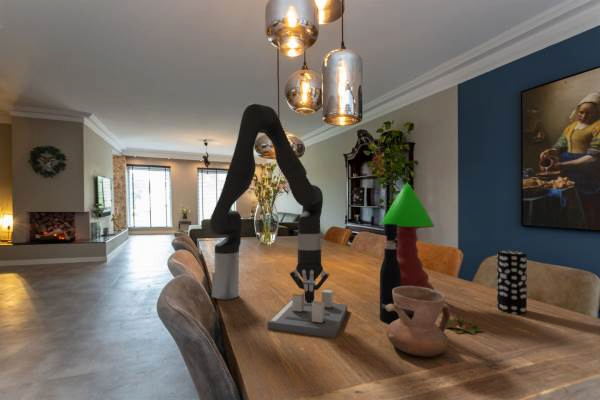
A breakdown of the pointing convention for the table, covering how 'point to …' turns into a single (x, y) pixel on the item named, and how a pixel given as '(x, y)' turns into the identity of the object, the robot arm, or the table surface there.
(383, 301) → the wine bottle
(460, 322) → the green leafy sprig
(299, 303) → the block
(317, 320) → the block
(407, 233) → the table lamp
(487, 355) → the table surface
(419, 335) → the ceramic jug
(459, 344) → the table surface
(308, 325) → the breaker panel
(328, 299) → the breaker
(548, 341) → the table surface
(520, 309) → the white-spotted black cylinder
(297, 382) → the table surface
